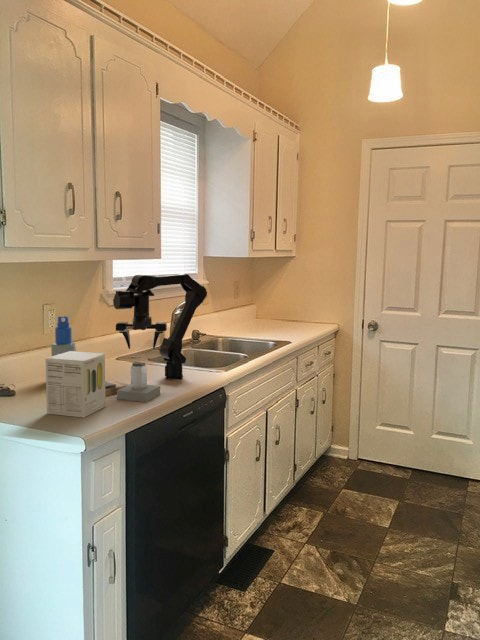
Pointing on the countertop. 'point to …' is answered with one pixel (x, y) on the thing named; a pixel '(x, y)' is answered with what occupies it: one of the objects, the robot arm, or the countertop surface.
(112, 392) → the tan wooden board
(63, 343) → the spray bottle
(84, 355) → the supplement box
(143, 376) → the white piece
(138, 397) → the block
